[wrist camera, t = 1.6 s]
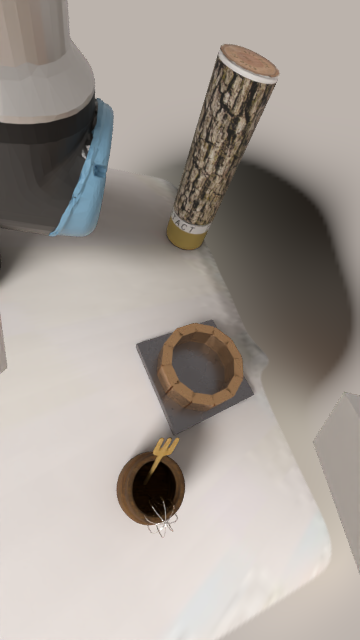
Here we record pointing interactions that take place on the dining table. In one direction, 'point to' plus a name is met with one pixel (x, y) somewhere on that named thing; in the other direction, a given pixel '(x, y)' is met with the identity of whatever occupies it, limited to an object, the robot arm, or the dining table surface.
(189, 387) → the collar plate
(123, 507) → the utensil holder
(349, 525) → the robot arm
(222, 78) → the paper tube
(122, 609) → the dining table surface
